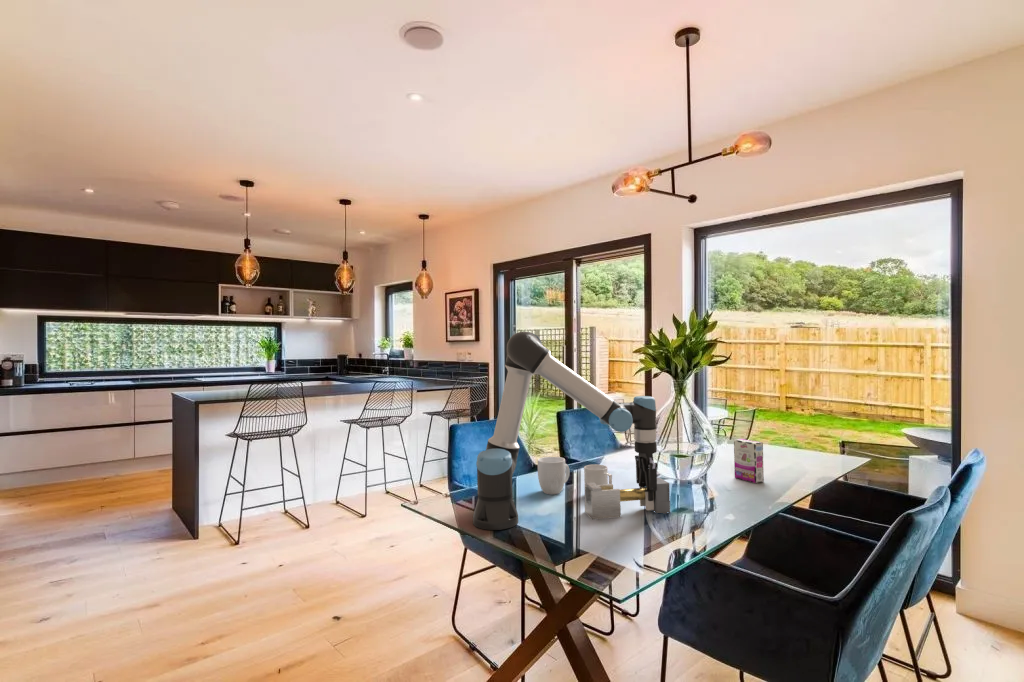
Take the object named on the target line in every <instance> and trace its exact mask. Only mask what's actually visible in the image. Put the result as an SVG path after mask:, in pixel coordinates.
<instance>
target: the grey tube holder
mask: <svg viewBox="0 0 1024 682" xmlns="http://www.w3.org/2000/svg"><path fill="white" fill-rule="evenodd" d="M620 490H621V489H620V488H614V485H613V483H612V484H609V483H608V484H604V485H597V484H596V483H594V482H592V483H586V486H585V485H584V513H585V514H586V515H588V517H589V518H590V519H591V520H602V519H610V518H611V519H613V518H615V517H616V518H622V517H621V516H622V515H621V514H622V513H621V510H622V508H621V502H620Z"/></svg>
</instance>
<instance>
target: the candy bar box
mask: <svg viewBox="0 0 1024 682" xmlns="http://www.w3.org/2000/svg"><path fill="white" fill-rule="evenodd" d="M733 453H734V454H733V459H734V461H733V463H734V464H733V465H734V467H733V468H734V478H735V479H738V480H741V481H745V482H750V483H752V484H761V483H764V481H765V479H764V443H763V442H760V441H757V440H750V439H749V440H748V439H745V438H737V439H733Z"/></svg>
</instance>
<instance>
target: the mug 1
mask: <svg viewBox="0 0 1024 682" xmlns="http://www.w3.org/2000/svg"><path fill="white" fill-rule="evenodd" d="M570 472H571V471H570V467H569V465H568V464H567V463H566V459H565V458H564V457H560V456H543V457H539V458H537V478H538V483H539V486H540V489H541V490H542V492H543V494H547V495H551V496H553V495H558V494H560V493H561V492H562V490H563V489H564V484H566V483H567V482H568V480H569V478H570Z"/></svg>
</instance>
